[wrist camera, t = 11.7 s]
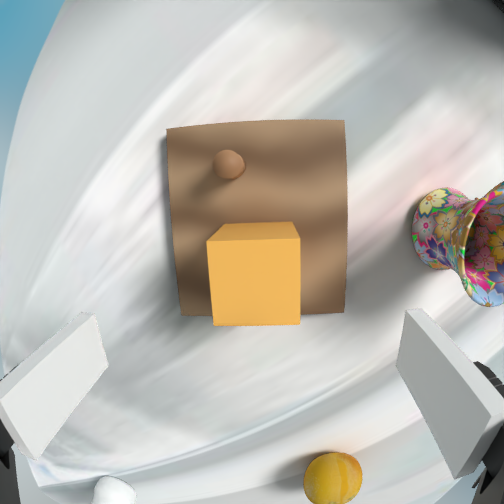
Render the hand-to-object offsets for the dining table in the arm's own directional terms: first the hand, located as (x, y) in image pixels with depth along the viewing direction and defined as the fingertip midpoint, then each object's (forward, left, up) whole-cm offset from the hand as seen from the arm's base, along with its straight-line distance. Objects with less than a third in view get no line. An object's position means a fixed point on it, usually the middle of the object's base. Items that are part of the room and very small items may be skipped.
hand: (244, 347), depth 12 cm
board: (-3, 0, -18) cm, 18 cm away
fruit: (+31, +9, -19) cm, 37 cm away
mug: (-3, +20, -19) cm, 27 cm away
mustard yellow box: (0, 0, -17) cm, 17 cm away
